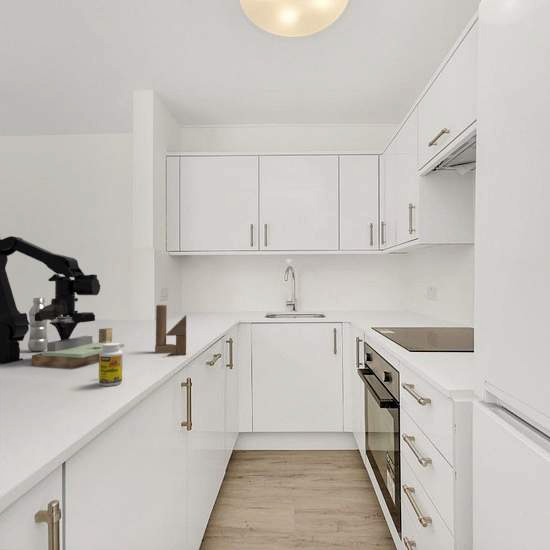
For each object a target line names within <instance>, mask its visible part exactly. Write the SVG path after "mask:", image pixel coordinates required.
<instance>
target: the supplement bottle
mask: <svg viewBox="0 0 550 550" xmlns="http://www.w3.org/2000/svg"><path fill="white" fill-rule="evenodd" d="M119 344H120V343H118V342H112V343H106V344H103V351H102V352H100V354H99V360H98V384H99V385H100V386H103V387H113V386H117V385H120V384H121V383H122V382H123V360H124V359H123V357H124V356H123V351H122V350H121V348H120V347H119Z"/></svg>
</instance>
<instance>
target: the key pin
mask: <svg viewBox="0 0 550 550" xmlns="http://www.w3.org/2000/svg"><path fill="white" fill-rule="evenodd" d="M98 343H113V328H111V327H102V328H98Z"/></svg>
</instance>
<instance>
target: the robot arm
mask: <svg viewBox="0 0 550 550" xmlns="http://www.w3.org/2000/svg"><path fill="white" fill-rule="evenodd" d="M16 252H18V253H20V254H23V255H25V256H28V257H30V258H32V259H33V260H34V259H35V260H36V261H38V262H41V263H43V264H44V265H45V266H46V267H47V268H48V269H49V270H51V271H53V272H54V274H53V275H52V276H51V277H49V278H48V282H54V286H55V287H54V298H51V301H50V304H47V305H45V307H43V308H41V309H39V312H37V313H36V314H35V321H43V320H47V321H49V322H48V323H49V325H51V326H53V327H54V328H55V329H56V331H57V333H58V336H59V338H60V340H65V339H70V338H71V336H72V334H73V332H74V330H75V329H76V327H77V325H78V324H80V323H90V322H95V321H96V315H95V313H94V312H89V311H88V312H87V311H86V312H84V311H81V312H78V310H76V302H78V301H79V298H77V297H76V295H78V296H97V295H99V293H100V292H101V291H100V290H101V284H100V281H99V279H98V275H97V274H85V273H84V272H83V271H82V269H81V268H80V267H79V263H78V260H77V259H76V258H74V257H70V256H68V255H67V256H66V255H64V254H63V255H62V254H57V253H53V252H52V251H49V250H47V249H45V248H42V247H40V246H39V245H36V244H33V243H31V242H30V241H27V240H25V239H23V238H22V237H19V236H13V235H12V236H7V237H4V238H2V239H0V364H7V365H8V364H11V363H14V362H20V361H23V360H24V358H22V357H21V356H20V355H21V352H20V351H21V347H20V342H23V340H24V339H25V337H26V335H27V334H28V332H29V330H30V327H29V326H30V321H29V320H28V314H27V313H26V312H23V313H21V312H20V310H18V308H17V305H16V300H15V297H14V294H13V290H12V287H11V284H10V281H9V280H10V279H9V276H8V273H7V270H6V267H7V264H8V257H9V256H11V255H13V254H14V253H16ZM60 275H62V276H60ZM72 278H74V279H72Z"/></svg>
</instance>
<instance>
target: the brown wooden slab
mask: <svg viewBox="0 0 550 550" xmlns="http://www.w3.org/2000/svg"><path fill="white" fill-rule="evenodd" d="M99 354H100V353H98V354H95V355H91V356H87V357H83V358H76V357H59V356H42V352H40V353H37V354H32V355H31V366H37V367H38V366H39V367H50V368H51V367H52V368H65V369H73V368H77V367H80V366H83V365H86V364H90V363H93V362H97V361H98V362H99Z"/></svg>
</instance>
